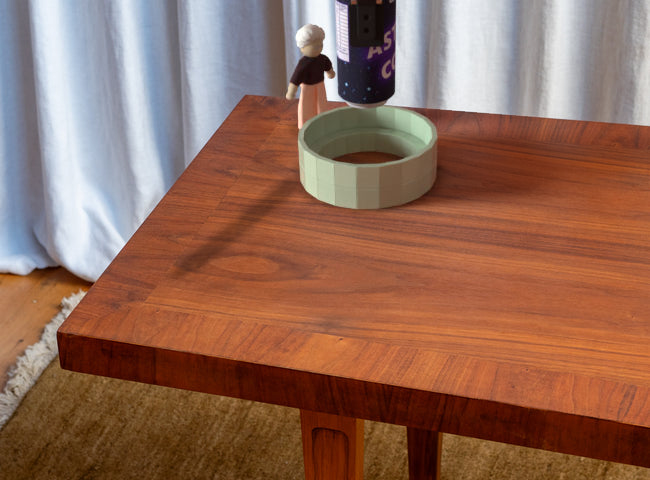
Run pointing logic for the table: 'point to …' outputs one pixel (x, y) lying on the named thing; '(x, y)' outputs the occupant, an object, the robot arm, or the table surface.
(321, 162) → the green faceted ring
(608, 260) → the table surface
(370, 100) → the beverage can
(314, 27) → the grandmother figurine
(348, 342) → the table surface
